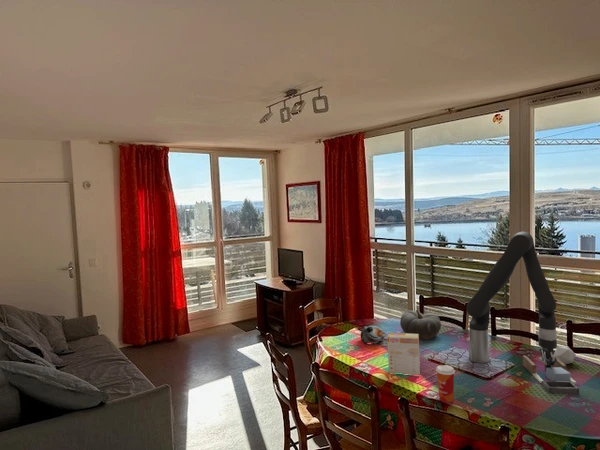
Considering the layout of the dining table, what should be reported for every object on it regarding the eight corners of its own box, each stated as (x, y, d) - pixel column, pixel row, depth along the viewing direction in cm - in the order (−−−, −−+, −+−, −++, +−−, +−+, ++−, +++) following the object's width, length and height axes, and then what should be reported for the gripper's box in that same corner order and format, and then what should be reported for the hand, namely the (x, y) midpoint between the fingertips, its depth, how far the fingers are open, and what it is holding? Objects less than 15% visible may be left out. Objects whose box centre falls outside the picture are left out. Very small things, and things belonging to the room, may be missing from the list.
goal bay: (540, 383, 185) (540, 381, 185) (532, 375, 194) (532, 373, 194) (576, 384, 183) (576, 382, 183) (566, 375, 192) (566, 373, 192)
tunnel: (532, 375, 194) (532, 364, 194) (522, 365, 206) (522, 355, 206) (566, 375, 192) (566, 365, 192) (554, 365, 204) (554, 355, 203)
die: (575, 368, 200) (581, 350, 203) (558, 359, 202) (564, 341, 204) (564, 368, 208) (570, 350, 211) (548, 359, 210) (554, 342, 212)
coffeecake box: (420, 371, 205) (418, 333, 204) (419, 377, 198) (418, 338, 197) (390, 368, 210) (388, 331, 208) (388, 374, 203) (387, 336, 202)
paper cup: (433, 396, 178) (433, 365, 178) (450, 394, 179) (449, 363, 178) (441, 404, 170) (440, 372, 170) (458, 403, 171) (458, 371, 170)
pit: (549, 393, 176) (549, 387, 176) (542, 385, 183) (542, 380, 183) (579, 393, 174) (579, 388, 174) (570, 386, 181) (570, 381, 181)
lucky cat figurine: (384, 338, 255) (389, 322, 247) (381, 352, 245) (385, 336, 238) (362, 330, 259) (365, 315, 251) (357, 343, 249) (361, 327, 242)
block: (555, 383, 185) (555, 374, 185) (546, 377, 192) (546, 367, 192) (570, 382, 185) (570, 373, 185) (560, 376, 192) (560, 367, 192)
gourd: (397, 325, 272) (400, 301, 269) (434, 331, 269) (439, 306, 266) (400, 341, 248) (404, 315, 245) (441, 348, 245) (446, 321, 242)
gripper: (533, 332, 201) (533, 366, 202) (545, 341, 188) (545, 377, 189) (549, 332, 200) (550, 366, 200) (562, 341, 186) (563, 378, 187)
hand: (548, 372), depth 194 cm, fingers closed
